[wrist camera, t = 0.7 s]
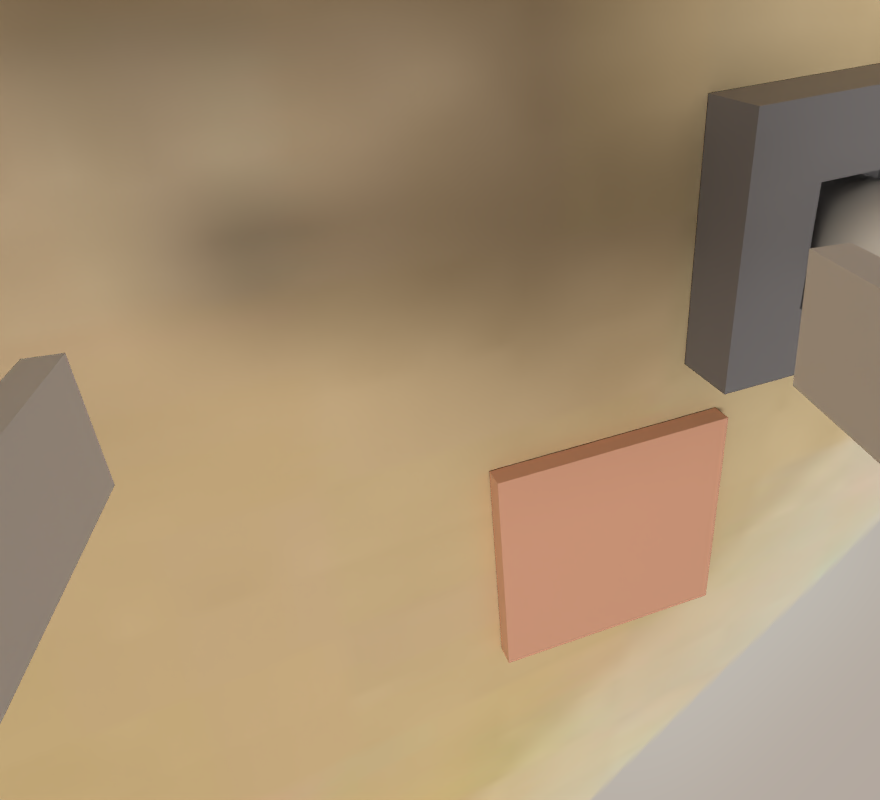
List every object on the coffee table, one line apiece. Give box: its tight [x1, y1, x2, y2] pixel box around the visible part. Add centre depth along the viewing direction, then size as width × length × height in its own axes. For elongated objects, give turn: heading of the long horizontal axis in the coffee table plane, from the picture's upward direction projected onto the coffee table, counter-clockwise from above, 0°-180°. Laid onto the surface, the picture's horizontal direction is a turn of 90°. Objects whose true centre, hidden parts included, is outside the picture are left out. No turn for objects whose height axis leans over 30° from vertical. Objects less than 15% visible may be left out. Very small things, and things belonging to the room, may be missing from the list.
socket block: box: [685, 63, 880, 394], centre depth 33 cm, size 12×12×3 cm
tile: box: [489, 408, 728, 663], centre depth 40 cm, size 12×12×1 cm
